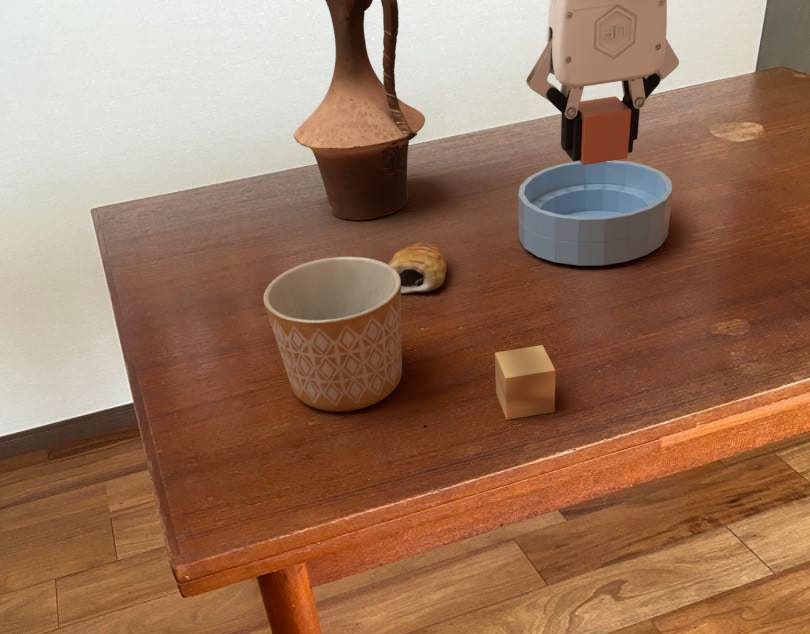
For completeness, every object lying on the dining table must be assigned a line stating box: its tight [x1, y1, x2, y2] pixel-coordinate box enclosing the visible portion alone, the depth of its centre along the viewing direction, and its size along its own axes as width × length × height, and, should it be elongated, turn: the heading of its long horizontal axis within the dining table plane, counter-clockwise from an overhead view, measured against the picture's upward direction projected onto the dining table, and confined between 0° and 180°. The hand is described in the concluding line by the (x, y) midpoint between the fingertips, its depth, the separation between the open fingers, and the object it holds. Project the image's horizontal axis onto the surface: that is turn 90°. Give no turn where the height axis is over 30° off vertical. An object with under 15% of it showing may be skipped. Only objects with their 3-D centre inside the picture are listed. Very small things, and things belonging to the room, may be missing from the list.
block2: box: [578, 95, 631, 165], centre depth 86 cm, size 4×4×4 cm
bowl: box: [517, 160, 674, 267], centre depth 105 cm, size 17×17×6 cm
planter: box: [263, 256, 403, 413], centre depth 84 cm, size 13×13×10 cm
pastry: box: [387, 242, 448, 295], centre depth 102 cm, size 9×7×4 cm
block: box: [494, 344, 556, 421], centre depth 81 cm, size 4×4×4 cm
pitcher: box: [293, 0, 426, 221], centre depth 111 cm, size 18×17×28 cm
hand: (598, 150), depth 87 cm, fingers closed on block2, 4 cm apart
